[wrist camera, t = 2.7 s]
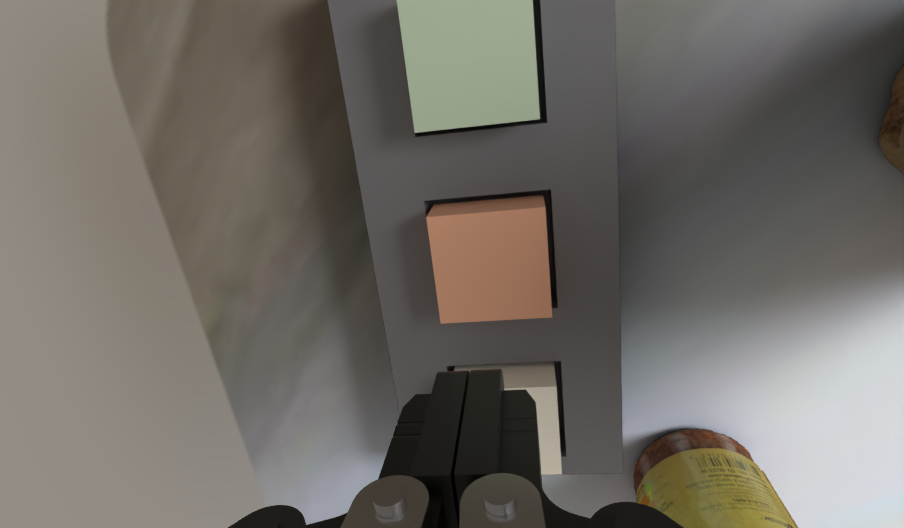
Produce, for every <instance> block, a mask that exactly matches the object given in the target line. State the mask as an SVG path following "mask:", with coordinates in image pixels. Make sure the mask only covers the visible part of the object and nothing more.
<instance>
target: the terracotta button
mask: <svg viewBox="0 0 904 528" xmlns="http://www.w3.org/2000/svg"><path fill="white" fill-rule="evenodd" d="M426 220H427V227H428V234H429V242H430V249H431V256H432V264H433V271H434V278H435V286H436V293H437V300H438V308H439V315H440V322H441V324H444V323H461V322H479V321H497V320H515V319H533V318H551V317H552V305H551V288H550V272H549V256H548V240H547V224H546V207H545V202H544V197H543V195H536V196H525V197H514V198H502V199H491V200H480V201H469V202H457V203H446V204H435V205H433V207H432V209H431V210H430V212H429V214H428V215H427V217H426Z"/></svg>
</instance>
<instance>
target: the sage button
mask: <svg viewBox="0 0 904 528" xmlns="http://www.w3.org/2000/svg"><path fill="white" fill-rule="evenodd" d="M397 7H398V14H399V21H400V29H401V36H402V43H403V51H404V58H405V65H406V73H407V80H408V87H409V95H410V102H411V109H412V117H413V124H414V132H415V133H418V132H427V131H436V130H445V129H455V128H464V127H473V126H482V125H491V124H500V123H510V122H519V121H528V120H537V119H540V110H539V94H538V78H537V62H536V45H535V29H534V13H533V0H397Z"/></svg>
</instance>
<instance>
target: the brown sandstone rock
mask: <svg viewBox="0 0 904 528" xmlns="http://www.w3.org/2000/svg"><path fill="white" fill-rule="evenodd" d="M879 144H880V147H881V149H882V152H883V154H884V156H885V157H886V158H887V159H888V160H889V161H890V162H891V163H892V164H893V165H894V166H895V167H896V168H898V169H899V170H900V171H901V172H903V173H904V65H903V66H902V68H901V69H900V70H899V71H898V73H897V76H896V78H895V81H894V84H893V86H892V99H891V103H890V106H889V109H888V112H887V114H886V117H885V120H884V123H883V126H882V128H881V130H880V135H879Z"/></svg>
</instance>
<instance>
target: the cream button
mask: <svg viewBox="0 0 904 528" xmlns="http://www.w3.org/2000/svg"><path fill="white" fill-rule="evenodd" d="M484 369H502V372H503V380H504V390H524V389H526V390H527V392H528V393H529V394H530V396H531V397H532V398H533V399H534V401H535V402H536V411H537V423H538V436H539V448H540V461H541V475H555V474H562V467H561V451H560V434H559V418H558V402H557V386H556V378H555V369H554V362H533V363H510V364H488V365H465V366H455V368H454V371H466V370H468V371H469V373H470V371H471V370H484Z"/></svg>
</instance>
